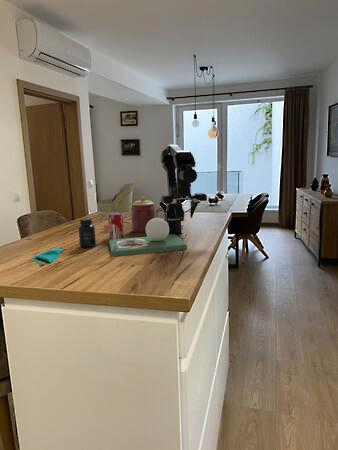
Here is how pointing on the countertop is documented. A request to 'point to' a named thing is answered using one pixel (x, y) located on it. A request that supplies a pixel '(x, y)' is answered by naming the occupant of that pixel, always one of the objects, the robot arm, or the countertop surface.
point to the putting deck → (143, 244)
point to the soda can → (116, 225)
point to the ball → (157, 229)
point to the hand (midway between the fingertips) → (184, 218)
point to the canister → (142, 214)
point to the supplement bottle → (87, 234)
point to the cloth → (48, 256)
